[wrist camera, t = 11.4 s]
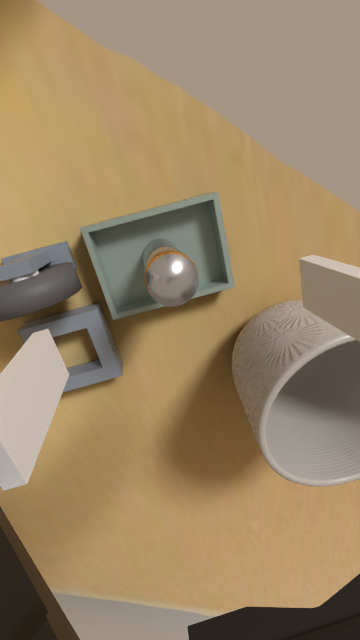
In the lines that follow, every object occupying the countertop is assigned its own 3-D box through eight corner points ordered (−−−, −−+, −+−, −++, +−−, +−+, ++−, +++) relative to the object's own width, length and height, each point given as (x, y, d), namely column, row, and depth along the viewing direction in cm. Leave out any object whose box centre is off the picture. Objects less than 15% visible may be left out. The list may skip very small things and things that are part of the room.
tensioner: (55, 384, 38) (29, 441, 29) (-5, 260, 32) (-64, 282, 23) (123, 365, 39) (117, 416, 29) (75, 238, 32) (50, 252, 23)
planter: (359, 325, 41) (474, 388, 27) (281, 413, 45) (345, 507, 31) (271, 257, 36) (356, 291, 22) (191, 363, 40) (220, 450, 26)
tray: (115, 311, 36) (113, 320, 33) (84, 226, 32) (79, 228, 29) (227, 280, 36) (234, 286, 33) (211, 192, 32) (217, 191, 29)
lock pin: (147, 278, 34) (153, 314, 23) (137, 242, 33) (138, 262, 21) (182, 269, 34) (205, 299, 23) (174, 232, 33) (193, 247, 22)
